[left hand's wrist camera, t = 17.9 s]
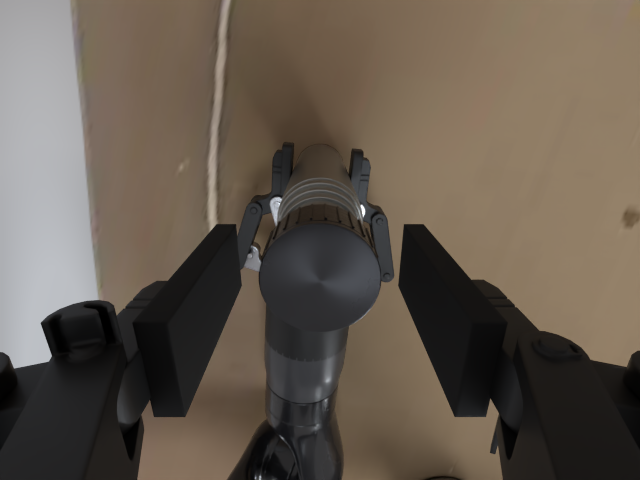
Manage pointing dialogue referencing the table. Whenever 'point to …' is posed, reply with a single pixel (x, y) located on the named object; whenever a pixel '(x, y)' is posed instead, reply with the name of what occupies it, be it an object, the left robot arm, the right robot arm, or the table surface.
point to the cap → (320, 269)
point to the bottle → (320, 183)
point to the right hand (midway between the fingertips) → (322, 147)
